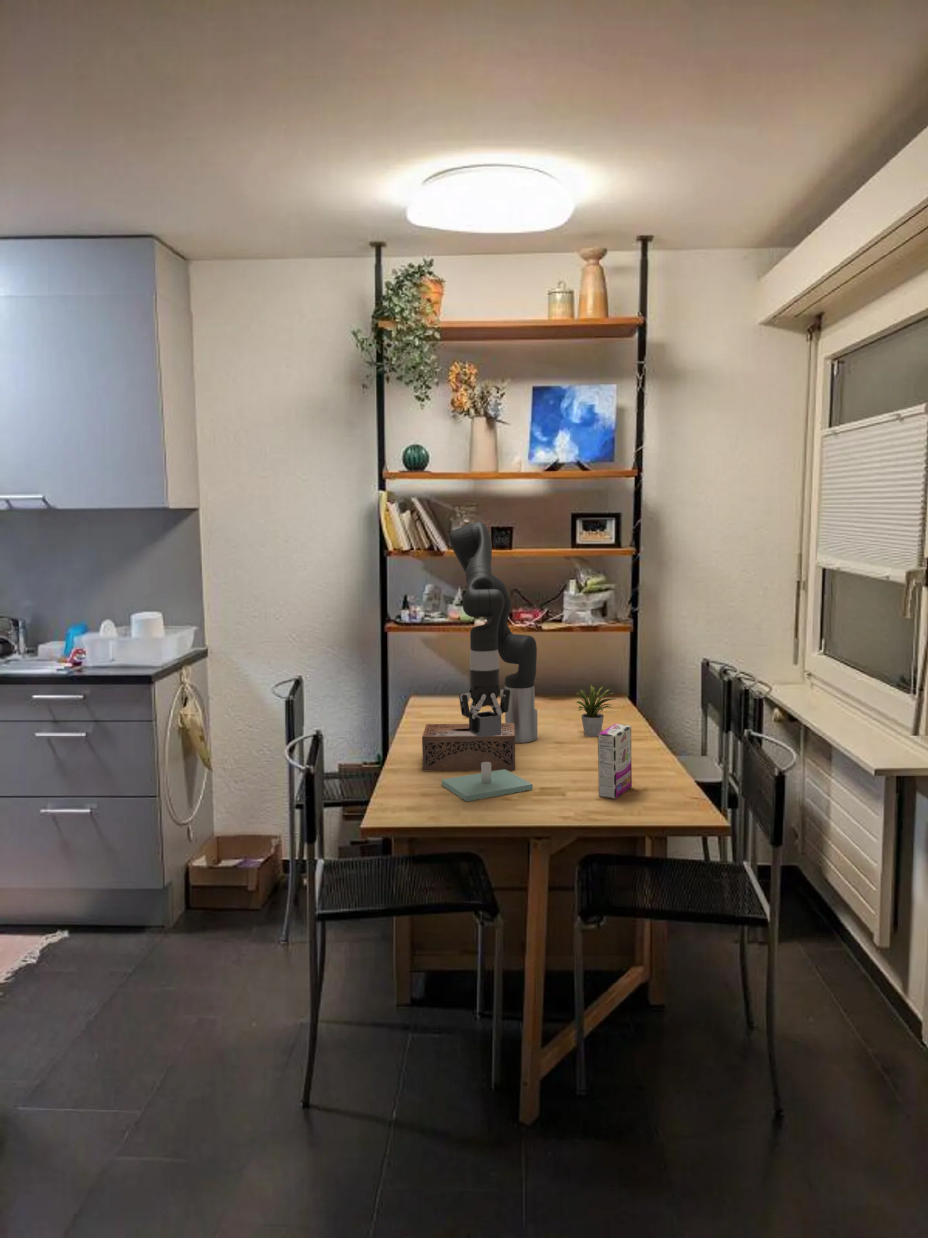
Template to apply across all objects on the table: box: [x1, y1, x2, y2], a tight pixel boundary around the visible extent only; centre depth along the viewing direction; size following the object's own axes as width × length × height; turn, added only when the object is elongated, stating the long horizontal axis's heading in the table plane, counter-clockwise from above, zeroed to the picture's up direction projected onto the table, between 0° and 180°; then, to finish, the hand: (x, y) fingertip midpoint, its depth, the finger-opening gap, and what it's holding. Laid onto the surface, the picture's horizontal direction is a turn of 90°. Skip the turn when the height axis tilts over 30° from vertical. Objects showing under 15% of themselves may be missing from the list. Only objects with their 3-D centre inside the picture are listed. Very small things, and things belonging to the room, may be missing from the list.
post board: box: [441, 762, 534, 802], centre depth 228 cm, size 19×15×6 cm
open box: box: [470, 710, 502, 738], centre depth 226 cm, size 6×6×5 cm
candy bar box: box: [597, 723, 633, 800], centre depth 222 cm, size 11×5×16 cm, turn 148°
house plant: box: [575, 683, 615, 738], centre depth 277 cm, size 14×14×16 cm
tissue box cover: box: [421, 722, 516, 771], centre depth 250 cm, size 26×14×10 cm, turn 88°
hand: (485, 730), depth 226 cm, fingers closed on open box, 6 cm apart
